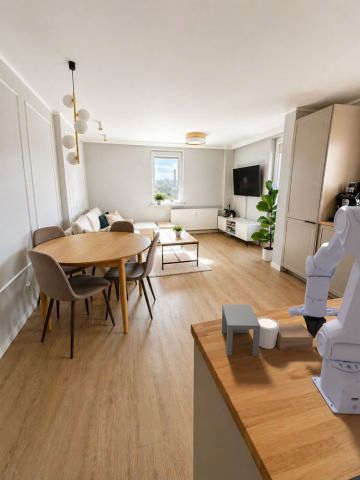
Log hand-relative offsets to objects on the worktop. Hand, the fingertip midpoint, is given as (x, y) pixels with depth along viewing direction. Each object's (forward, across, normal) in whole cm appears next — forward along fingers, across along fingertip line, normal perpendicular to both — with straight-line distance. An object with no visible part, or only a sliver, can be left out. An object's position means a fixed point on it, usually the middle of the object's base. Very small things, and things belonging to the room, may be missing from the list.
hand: (311, 336), depth 72 cm
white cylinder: (+3, +14, 0) cm, 14 cm away
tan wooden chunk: (+2, +6, 0) cm, 7 cm away
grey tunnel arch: (+2, +22, 0) cm, 22 cm away
